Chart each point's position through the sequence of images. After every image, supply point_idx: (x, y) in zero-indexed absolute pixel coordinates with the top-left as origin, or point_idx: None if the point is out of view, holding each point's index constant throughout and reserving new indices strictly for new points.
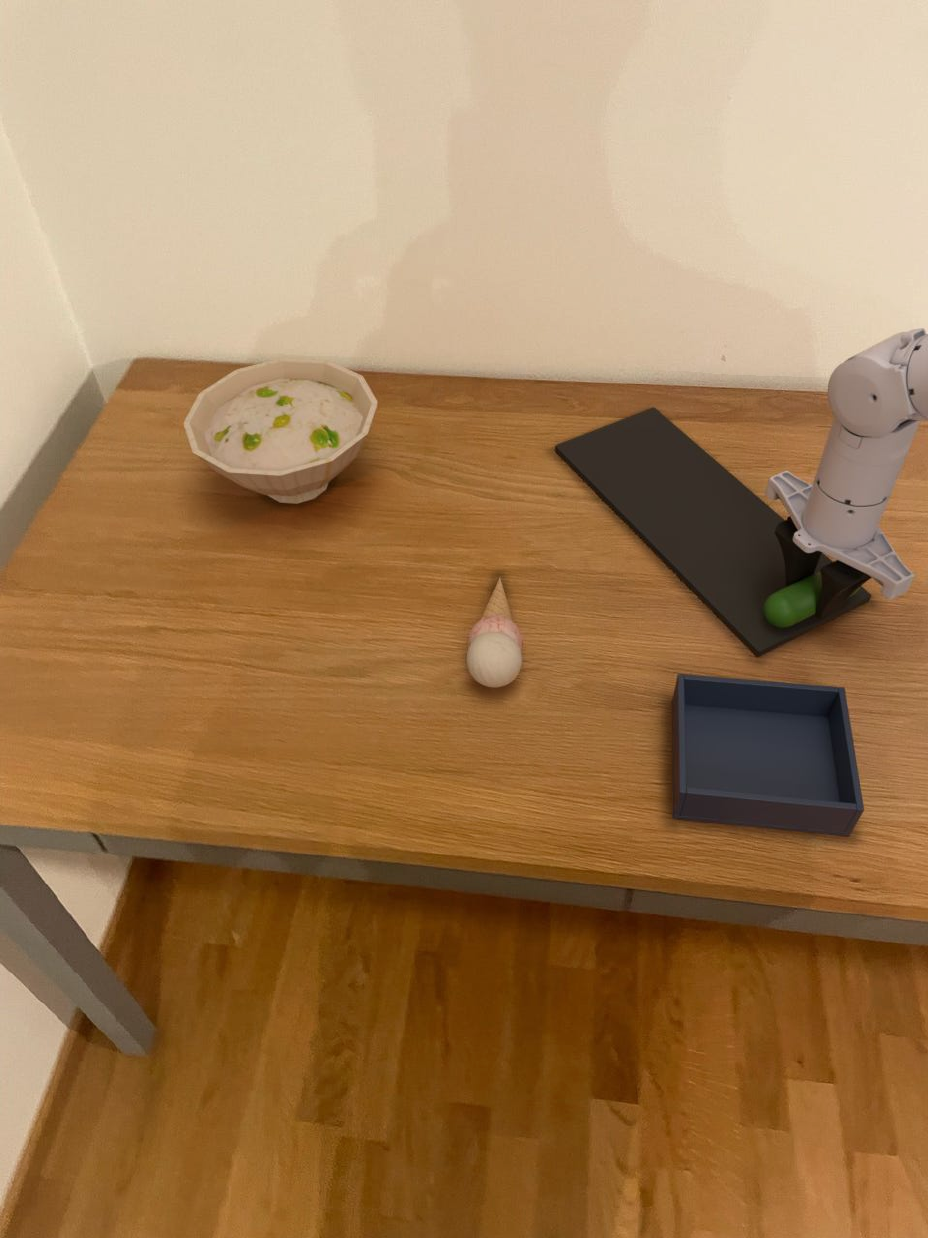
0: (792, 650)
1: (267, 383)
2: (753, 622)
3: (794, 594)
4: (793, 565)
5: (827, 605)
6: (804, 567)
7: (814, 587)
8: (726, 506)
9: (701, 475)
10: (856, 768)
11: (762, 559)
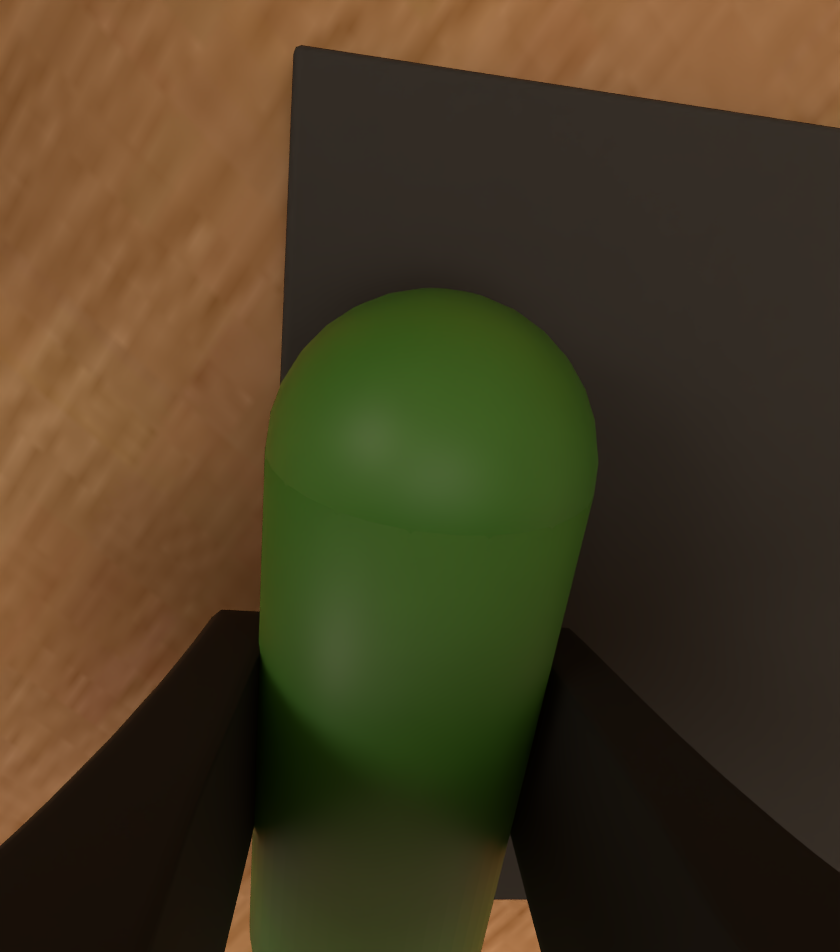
0: (217, 331)
1: None
2: (535, 260)
3: (424, 613)
4: (671, 863)
5: (101, 749)
6: (581, 871)
7: (374, 791)
8: None
9: None
10: None
11: (808, 677)
